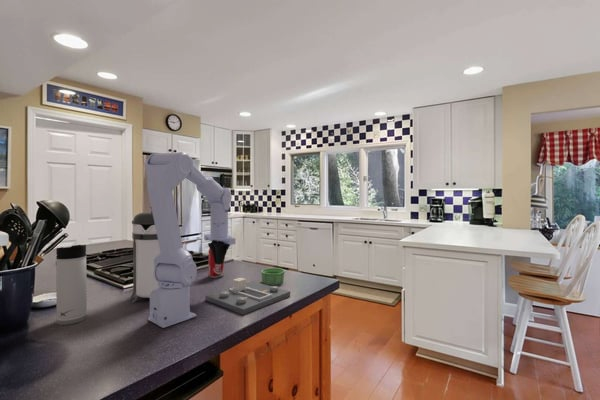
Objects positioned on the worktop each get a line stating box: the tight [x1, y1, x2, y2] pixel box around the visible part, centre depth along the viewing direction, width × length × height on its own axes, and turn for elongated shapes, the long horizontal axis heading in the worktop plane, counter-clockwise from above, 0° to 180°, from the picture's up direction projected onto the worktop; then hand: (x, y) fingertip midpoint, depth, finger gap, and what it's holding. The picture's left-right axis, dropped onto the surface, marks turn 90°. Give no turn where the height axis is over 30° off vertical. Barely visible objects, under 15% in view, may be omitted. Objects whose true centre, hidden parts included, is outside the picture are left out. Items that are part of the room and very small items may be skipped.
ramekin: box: [260, 267, 286, 286], centre depth 115 cm, size 9×9×4 cm
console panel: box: [204, 281, 291, 316], centre depth 97 cm, size 20×18×3 cm
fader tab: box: [232, 277, 247, 291], centre depth 99 cm, size 3×2×4 cm
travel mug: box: [55, 244, 88, 326], centre depth 78 cm, size 6×7×20 cm
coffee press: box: [128, 206, 161, 304], centre depth 98 cm, size 17×16×30 cm
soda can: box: [207, 248, 225, 279], centre depth 122 cm, size 6×6×12 cm
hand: (219, 263), depth 101 cm, fingers closed
